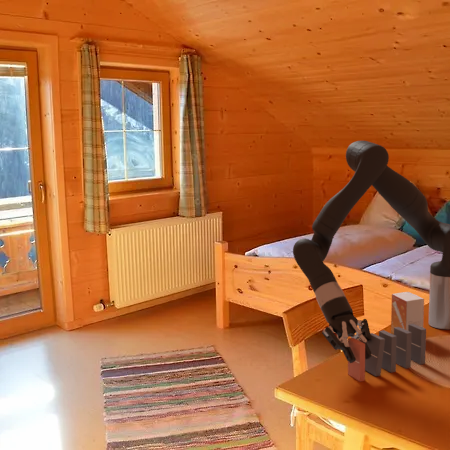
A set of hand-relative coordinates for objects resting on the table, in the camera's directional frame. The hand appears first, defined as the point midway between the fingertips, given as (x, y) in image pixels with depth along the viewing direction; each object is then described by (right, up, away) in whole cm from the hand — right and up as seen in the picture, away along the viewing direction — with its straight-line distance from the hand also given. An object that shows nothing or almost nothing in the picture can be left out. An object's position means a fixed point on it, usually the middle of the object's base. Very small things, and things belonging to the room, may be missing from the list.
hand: (360, 359), depth 148 cm
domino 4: (+13, -4, +9) cm, 17 cm away
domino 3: (+9, -4, +7) cm, 12 cm away
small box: (+21, 0, +29) cm, 36 cm away
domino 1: (-1, -5, +3) cm, 6 cm away
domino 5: (+18, -3, +11) cm, 22 cm away
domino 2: (+4, -5, +5) cm, 8 cm away
